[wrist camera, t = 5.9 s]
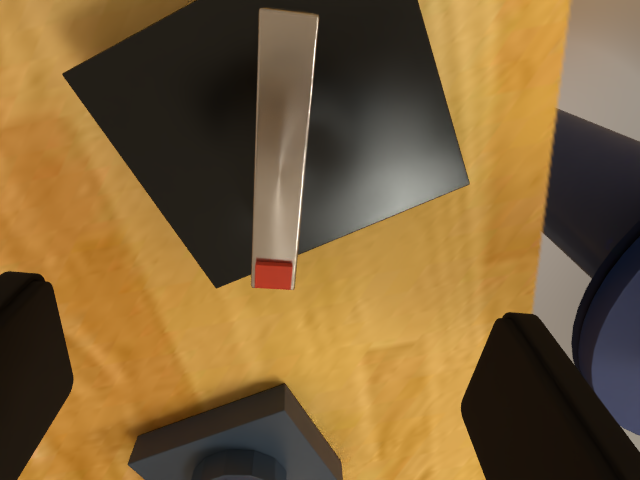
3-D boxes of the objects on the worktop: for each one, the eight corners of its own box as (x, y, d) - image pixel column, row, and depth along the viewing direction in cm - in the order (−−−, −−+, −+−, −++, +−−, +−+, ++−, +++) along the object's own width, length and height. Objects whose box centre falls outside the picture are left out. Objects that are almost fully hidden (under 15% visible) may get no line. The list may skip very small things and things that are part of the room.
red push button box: (285, 382, 28) (283, 435, 25) (341, 461, 33) (346, 515, 30) (137, 435, 30) (116, 491, 27) (210, 503, 35) (200, 557, 32)
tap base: (373, -88, 16) (388, -105, 13) (448, 162, 21) (470, 184, 19) (94, 63, 18) (60, 74, 16) (225, 257, 23) (216, 289, 21)
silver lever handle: (268, 6, 15) (257, 7, 11) (313, 11, 15) (320, 14, 11) (260, 230, 19) (250, 292, 15) (294, 232, 19) (294, 295, 15)
